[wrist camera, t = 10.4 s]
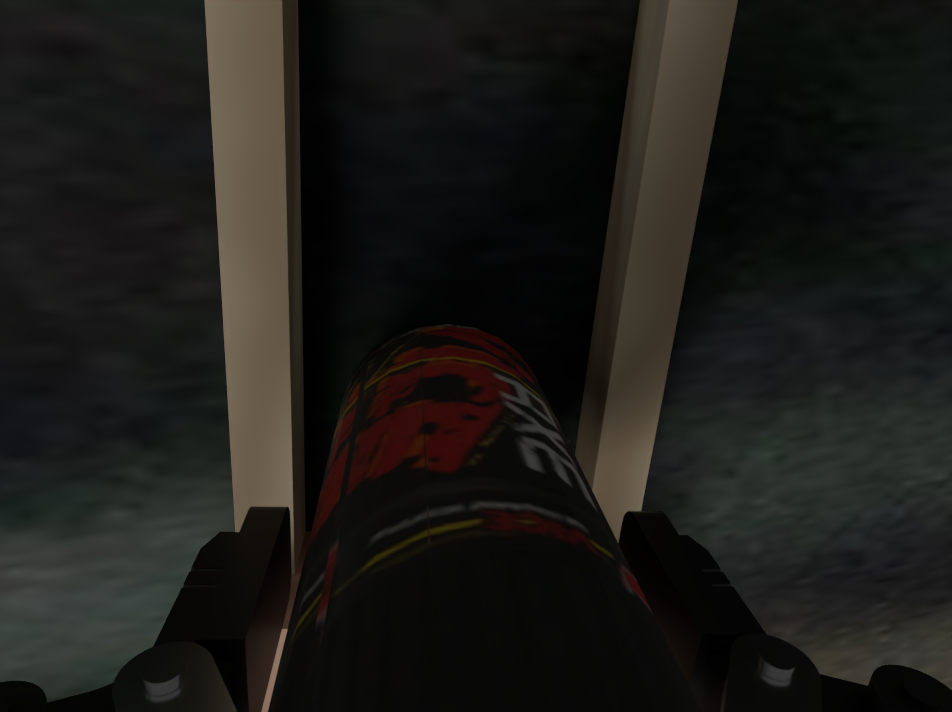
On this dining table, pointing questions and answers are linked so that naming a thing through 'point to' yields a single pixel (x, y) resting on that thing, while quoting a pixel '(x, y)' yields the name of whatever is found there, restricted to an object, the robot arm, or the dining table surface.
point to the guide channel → (621, 281)
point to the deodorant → (464, 553)
